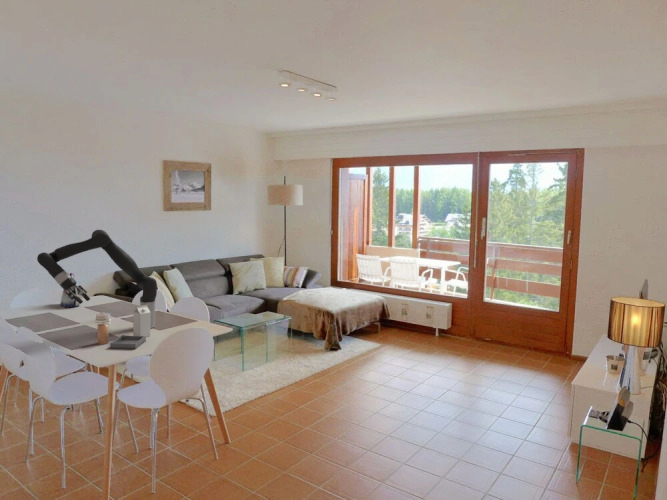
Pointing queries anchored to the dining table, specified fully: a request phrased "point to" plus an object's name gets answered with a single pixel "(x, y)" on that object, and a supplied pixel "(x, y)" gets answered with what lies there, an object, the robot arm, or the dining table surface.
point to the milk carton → (141, 321)
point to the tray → (128, 342)
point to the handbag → (68, 299)
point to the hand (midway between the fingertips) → (85, 301)
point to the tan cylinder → (102, 333)
